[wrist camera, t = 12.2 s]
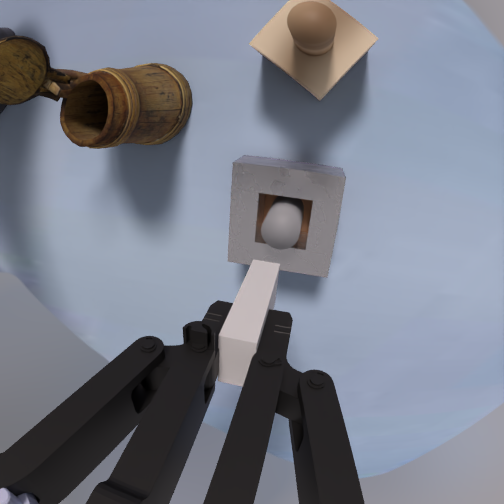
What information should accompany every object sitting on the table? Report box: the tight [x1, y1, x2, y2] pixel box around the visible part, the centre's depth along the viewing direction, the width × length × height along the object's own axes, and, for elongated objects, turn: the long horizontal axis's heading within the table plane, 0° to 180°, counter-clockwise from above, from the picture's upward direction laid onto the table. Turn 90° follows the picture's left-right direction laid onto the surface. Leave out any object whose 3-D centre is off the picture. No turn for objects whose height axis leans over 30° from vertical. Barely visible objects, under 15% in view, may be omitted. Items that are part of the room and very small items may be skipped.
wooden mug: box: [0, 36, 192, 149], centre depth 22 cm, size 9×14×18 cm, turn 46°
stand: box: [249, 0, 378, 101], centre depth 20 cm, size 7×7×11 cm
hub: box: [261, 194, 312, 250], centre depth 28 cm, size 7×7×8 cm
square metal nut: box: [228, 155, 346, 278], centre depth 28 cm, size 9×9×4 cm
